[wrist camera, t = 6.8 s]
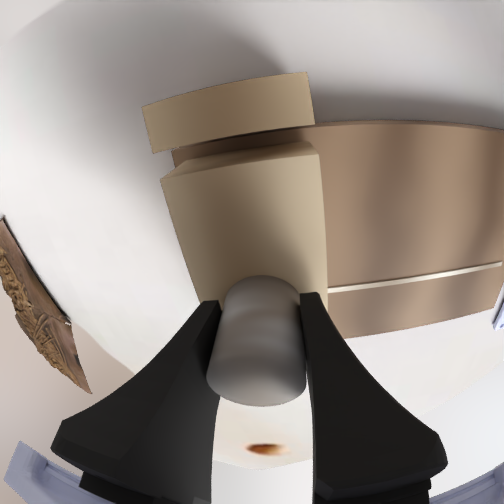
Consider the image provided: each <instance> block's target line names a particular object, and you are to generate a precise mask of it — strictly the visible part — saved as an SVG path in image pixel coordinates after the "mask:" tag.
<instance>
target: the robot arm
mask: <svg viewBox="0 0 504 504" xmlns="http://www.w3.org/2000/svg"><path fill="white" fill-rule="evenodd" d="M299 295H300V310H301V322H302V331H303V337H304V344H305V359H306V372H307V379H308V386H309V393H310V400H311V408H312V424H313V500H312V501H313V502H312V504H504V462H503V463H501V464H500V465H498V466H497V467H495V468H494V469H493V470H491V471H489V472H487V473H486V474H484V475H482V476H480V477H478V478H476V479H474V480H472V481H470V482H468V483H465V484H463V485H461V486H459V487H457V488H454V489H452V490H450V491H447V492H444V493H442V494H439V495H437V496H434V497H431V498H429V494H428V490H430V489H431V480H430V478H432V477H433V476H435V475H436V474H438V473H440V472H441V471H442V470H444V469H445V467H446V466H447V464H448V461H447V456H446V452H445V449H444V447H443V444H442V442H441V439H440V437H439V435H438V434H437V433H436V432H435V431H433V430H432V429H431V428H429V427H428V426H426V425H425V424H424V423H422V422H421V421H420V420H418V419H417V418H416V417H415V416H413V415H412V414H411V413H410V412H409V411H408V410H406V409H405V408H404V407H403V406H402V405H401V404H399V403H398V402H397V401H396V400H395V399H394V398H393V397H392V396H391V395H390V394H389V393H388V392H387V391H386V390H385V389H384V388H383V387H382V386H381V385H380V384H379V383H378V382H377V381H376V380H375V379H374V377H373V376H372V375H371V374H370V373H369V372H368V371H367V369H366V368H365V367H364V366H363V365H362V363H361V362H360V361H359V360H358V358H357V357H356V356H355V354H354V353H353V352H352V350H351V349H350V348H349V346H348V345H347V343H346V342H345V340H344V339H343V337H342V336H341V334H340V333H339V331H338V329H337V328H336V326H335V325H334V323H333V321H332V320H331V318H330V316H329V314H328V312H327V310H326V308H325V306H324V304H323V302H322V299H321V297H320V294H319V293H318V292H309V293H299ZM221 314H222V310H221V306H220V303H219V300H209V301H203V302H202V303H201V304H200V305H199V306H198V308H197V309H196V310H195V311H194V312H193V314H192V315H191V316H190V317H189V319H188V320H187V321H186V322H185V323H184V325H183V326H182V327H181V328H180V329H179V331H178V332H177V333H176V334H175V335H174V337H173V338H172V339H171V340H170V341H169V342H168V343H167V344H166V346H165V347H164V348H163V349H162V350H161V351H160V352H159V353H158V354H157V355H156V356H155V357H154V358H153V359H152V360H151V361H150V362H149V363H148V364H147V365H146V366H145V367H144V368H143V369H142V370H141V371H139V372H138V373H137V374H136V375H135V376H134V377H133V378H131V379H130V380H129V381H128V382H126V383H125V384H124V385H122V386H121V387H120V388H118V389H117V390H116V391H114V392H113V393H111V394H110V395H109V396H107V397H105V398H104V399H103V400H101V401H99V402H98V403H96V404H95V405H93V406H91V407H89V408H87V409H85V410H84V411H82V412H79V413H77V414H75V415H74V416H71V417H69V418H67V419H65V420H63V421H62V422H61V425H60V427H59V429H58V432H57V434H56V436H55V438H54V441H53V443H52V445H51V450H52V452H54V453H55V454H56V455H58V456H59V457H61V458H62V459H64V460H65V461H67V462H68V463H70V464H72V465H74V466H75V467H77V468H79V469H80V470H82V471H84V472H83V475H82V478H81V477H79V476H77V475H75V474H73V473H71V472H69V471H68V470H66V469H64V468H62V467H60V466H58V465H57V464H55V463H53V462H51V461H50V460H48V459H47V458H46V457H44V456H43V455H41V454H39V453H38V452H37V451H35V450H33V449H32V448H30V447H29V446H28V445H26V444H24V443H23V442H22V441H19V443H18V445H17V447H16V449H15V452H14V454H13V457H12V459H11V461H10V464H9V467H8V469H7V472H6V475H5V477H4V481H5V482H6V483H7V484H8V485H9V486H10V487H11V488H12V489H13V490H15V491H16V492H17V493H18V494H19V495H20V496H21V497H22V498H23V499H24V500H25V501H26V502H27V503H28V504H211V473H212V454H213V441H214V431H215V422H216V415H217V409H218V405H219V400H220V395H218V394H217V393H216V392H215V391H213V390H212V388H211V387H210V386H209V384H208V382H207V378H206V376H207V371H208V366H209V362H210V358H211V354H212V350H213V346H214V342H215V338H216V334H217V330H218V326H219V322H220V318H221ZM493 328H494V330H495V331H496V330H499V329H502V328H504V303H503V305H502V308H501V310H500V312H499V315H498V317H497V319H496V321H495V323H494V326H493Z"/></svg>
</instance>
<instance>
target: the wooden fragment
mask: <svg viewBox="0 0 504 504" xmlns="http://www.w3.org/2000/svg"><path fill="white" fill-rule="evenodd" d="M4 217H5V216H4ZM0 276H1V278H2V285H3V288H4V290H5V291H6V293H7V295H9V296H10V297H11V298H12V302H13V304H14V308H15V311H16V312H17V314H16V315H15V317H16V319H17V321H18V323H19V325H20V327H21V328H22V330H23V331H24V332H25V334H26V335H27V336H28V337H29V339H30V340H31V341H32V342H33V343H34V345H35V346H36V348H37V350H38V352H39V353H40V354H42V355H43V356H44V357H45V359H46V360H47V361H49V363H50V364H51V366H53V367H54V368H57V369H58V370H59V371H60V372H61V373H62V374H64V375H65V376H67V377H69V378H70V379H71V380H72V381H73V382H74V383H75V384H76V385H77V386H79V387H80V388H82V389H83V390H85V391H86V392H87V393H90V394H92V392H91V391H90V389H89V386H88V383H87V380H86V377H85V375H84V372H83V369H82V367H81V365H80V362H79V358H78V354H77V350H76V347H75V343H74V339H73V334H72V330H71V325H70V326H69V325H67V324H65V322H68V323H70V324H71V322H70V320H68V319H67V317H65V316H63V315H62V313H61V312H60V310H59V309H58V308H57V306H56V305H55V304H54V302H53V301H52V300H51V298H50V297H49V295H48V294H47V292H46V291H45V290H44V288H43V286H42V285H41V284H40V282H39V280H38V279H37V277H36V276H35V274H34V272H33V271H32V269H31V268H30V266H29V264H28V263H27V261H26V260H25V258H24V256H23V254H22V252H21V250H20V249H19V247H18V245H17V244H16V242H15V240H14V238H13V237H12V236H11V234H10V232H9V231H8V229H7V227H6V225H5V223H4V222H3V219H2V220H1V221H0Z"/></svg>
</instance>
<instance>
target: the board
mask: <svg viewBox="0 0 504 504" xmlns="http://www.w3.org/2000/svg"><path fill="white" fill-rule="evenodd" d="M305 141H309V142H310V143H311V144H312V146H313V147H314V148H315V150H316V151H317V152H318V154H319V160H320V170H321V180H322V191H323V203H324V217H325V233H326V253H327V284H328V314H329V316H330V318H331V320H332V321H333V323H334V325H335V326H336V328H337V329H338V331H339V333H340V334H341V336H342V337H343V339H346V338H354V337H361V336H368V335H375V334H381V333H387V332H393V331H398V330H404V329H409V328H414V327H419V326H424V325H429V324H433V323H438V322H442V321H447V320H451V319H455V318H459V317H463V316H467V315H471V314H474V313H478V312H481V311H485V310H488V309H492V308H494V306H495V303H496V301H497V298H498V295H499V293H500V290H501V288H502V285H503V282H504V130H502V129H496V128H490V127H483V126H476V125H468V124H459V123H448V122H435V121H416V120H356V121H336V122H322V123H315V125H305V126H296V127H287V128H279V129H271V130H264V131H257V132H251V133H245V134H239V135H233V136H228V137H222V138H217V139H212V140H208V141H203V142H198V143H194V144H189V145H185V146H181V147H179V148H177V149H175V150H173V151H171V152H172V156H173V160H174V164H175V168H176V167H178V166H179V165H181V164H182V163H183V162H185V161H186V160H191V159H196V158H201V157H206V156H211V155H216V154H221V153H227V152H232V151H238V150H244V149H251V148H257V147H264V146H271V145H279V144H287V143H296V142H305Z"/></svg>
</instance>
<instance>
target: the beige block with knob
mask: <svg viewBox="0 0 504 504" xmlns="http://www.w3.org/2000/svg"><path fill="white" fill-rule="evenodd" d="M142 111H143V115H144V119H145V124H146V128H147V132H148V136H149V140H150V144H151V148H152V152H153V154H154V153H157V152H161V151H165V150H169V149H173V148H177V147H181V146H185V145H189V144H194V143H198V142H203V141H208V140H212V139H217V138H222V137H228V136H233V135H239V134H245V133H251V132H257V131H264V130H271V129H279V128H287V127H296V126H305V125H315V120H314V113H313V106H312V100H311V94H310V87H309V82H308V76H307V72H300V73H289V74H281V75H273V76H266V77H259V78H253V79H247V80H241V81H236V82H231V83H226V84H221V85H217V86H212V87H208V88H204V89H200V90H196V91H192V92H188V93H185V94H181V95H177V96H174V97H171V98H167V99H164V100H161V101H158V102H155V103H152V104H149V105H146V106H143V107H142ZM160 182H161V185H162V189H163V192H164V196H165V199H166V202H167V206H168V209H169V212H170V216H171V219H172V222H173V225H174V229H175V232H176V235H177V238H178V241H179V244H180V247H181V250H182V253H183V256H184V259H185V262H186V265H187V268H188V271H189V274H190V277H191V279H192V282H193V285H194V288H195V291H196V293H197V296H198V299H199V302H200V304H201V303H202V302H203V301H209V300H219V303H220V306H221V310H222V314H221V318H220V322H219V326H218V330H217V334H216V338H215V342H214V346H213V350H212V354H211V358H210V362H209V366H208V371H207V376H206V378H207V382H208V384H209V386H210V387H211V388H212V390H213V391H215V392H216V393H217V394H218V395H220V396H221V397H223V398H225V399H227V400H230V401H232V402H235V403H239V404H243V405H248V406H259V407H265V406H275V405H280V404H284V403H287V402H290V401H292V400H294V399H295V398H297V397H298V396H300V395H301V394H302V393H303V391H304V390H305V388H306V382H307V381H306V359H305V344H304V337H303V331H302V322H301V310H300V295H299V293H309V292H318V293H319V294H320V297H321V299H322V302H323V304H324V306H325V308H326V310H327V312H328V284H327V253H326V233H325V217H324V203H323V191H322V180H321V170H320V160H319V154H318V152H317V151H316V150H315V148H314V147H313V146H312V144H311V143H310V142H309V141H305V142H296V143H287V144H279V145H271V146H264V147H257V148H251V149H244V150H238V151H232V152H227V153H221V154H216V155H211V156H206V157H201V158H196V159H191V160H186V161H185V162H183V163H182V164H181V165H179V166H178V167H176V168H175V169H174V170H172V171H171V172H170V173H168V174H167V175H166V176H164V177H163V178H162V179H160Z"/></svg>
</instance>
